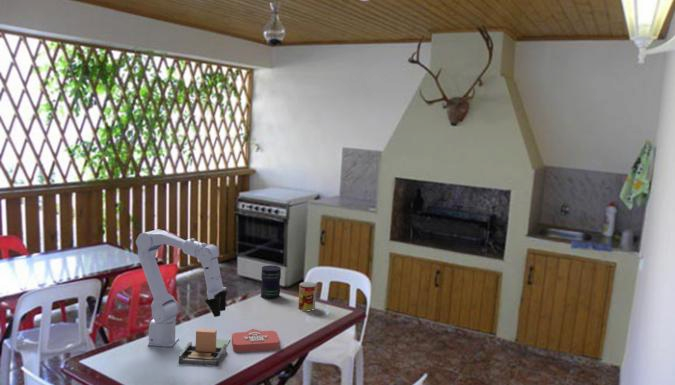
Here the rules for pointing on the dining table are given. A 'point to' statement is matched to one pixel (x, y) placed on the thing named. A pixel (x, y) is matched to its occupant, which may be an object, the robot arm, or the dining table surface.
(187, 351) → the rack
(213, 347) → the tall orange plank
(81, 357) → the dining table surface
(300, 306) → the canned food
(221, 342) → the mat
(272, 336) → the red flat case
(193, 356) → the block
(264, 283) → the storage jar
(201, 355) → the offcut short
